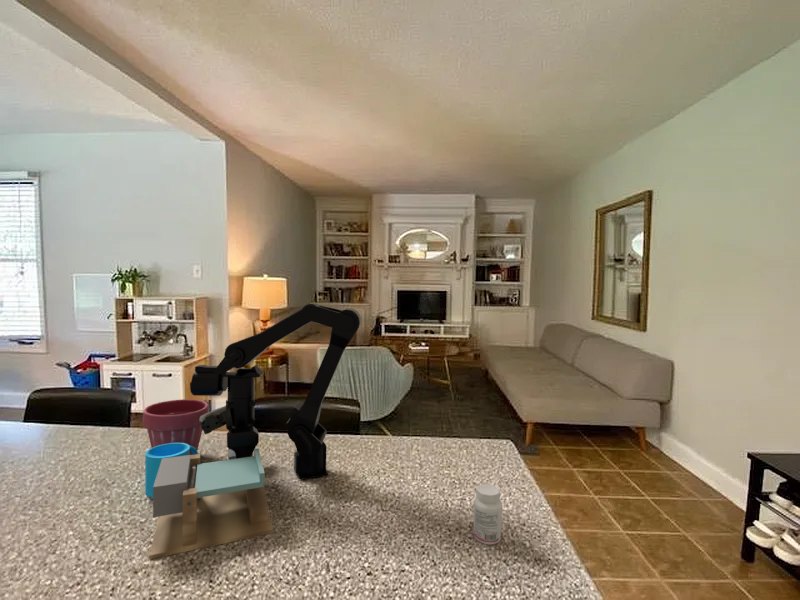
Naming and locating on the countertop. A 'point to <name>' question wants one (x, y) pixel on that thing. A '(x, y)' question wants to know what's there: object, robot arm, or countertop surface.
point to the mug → (155, 457)
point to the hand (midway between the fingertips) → (240, 463)
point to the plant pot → (175, 422)
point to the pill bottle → (487, 514)
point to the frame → (211, 519)
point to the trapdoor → (203, 480)
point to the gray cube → (232, 454)
